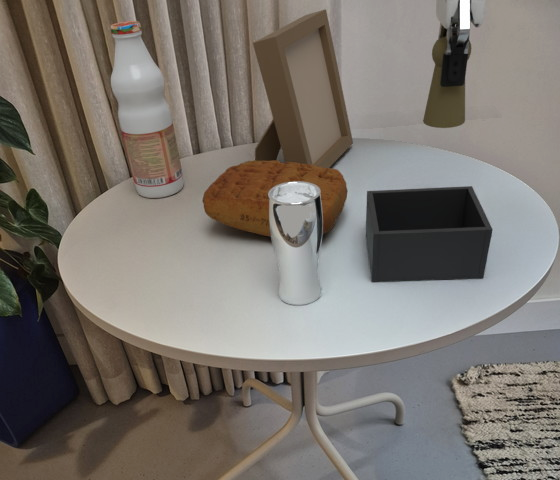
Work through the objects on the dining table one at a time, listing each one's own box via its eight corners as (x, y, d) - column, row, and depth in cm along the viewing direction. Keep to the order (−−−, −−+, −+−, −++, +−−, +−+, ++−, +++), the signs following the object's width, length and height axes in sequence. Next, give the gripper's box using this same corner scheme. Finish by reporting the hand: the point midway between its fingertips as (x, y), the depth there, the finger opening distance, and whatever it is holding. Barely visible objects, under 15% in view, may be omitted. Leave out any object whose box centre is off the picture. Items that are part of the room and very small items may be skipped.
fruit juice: (149, 204, 107) (108, 33, 88) (128, 188, 113) (87, 25, 95) (193, 189, 111) (163, 21, 92) (171, 174, 117) (139, 15, 98)
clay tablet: (199, 238, 95) (191, 192, 90) (240, 194, 107) (234, 151, 102) (326, 254, 89) (325, 205, 83) (355, 205, 100) (356, 160, 95)
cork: (414, 122, 86) (421, 39, 78) (439, 111, 88) (448, 30, 81) (448, 130, 82) (458, 44, 75) (473, 119, 85) (485, 34, 77)
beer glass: (318, 276, 84) (315, 177, 74) (329, 302, 79) (328, 199, 69) (271, 283, 83) (262, 184, 74) (280, 310, 78) (271, 207, 68)
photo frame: (353, 147, 121) (354, 9, 104) (312, 190, 106) (307, 37, 90) (289, 141, 126) (281, 8, 110) (242, 181, 112) (225, 35, 95)
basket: (464, 232, 91) (472, 185, 86) (483, 278, 81) (492, 229, 76) (365, 236, 92) (366, 190, 87) (371, 282, 82) (373, 234, 77)
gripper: (515, -81, 63) (488, 96, 75) (484, -91, 75) (465, 62, 87) (445, -75, 63) (429, 99, 75) (426, -86, 76) (415, 65, 88)
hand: (448, 78), depth 81 cm, fingers closed on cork, 5 cm apart
